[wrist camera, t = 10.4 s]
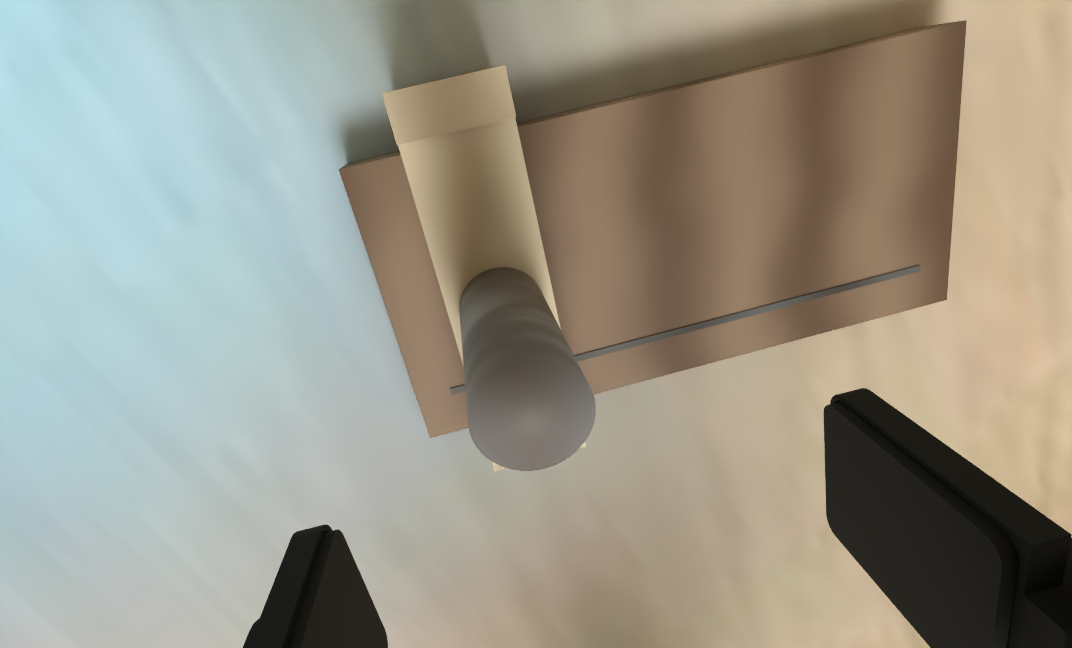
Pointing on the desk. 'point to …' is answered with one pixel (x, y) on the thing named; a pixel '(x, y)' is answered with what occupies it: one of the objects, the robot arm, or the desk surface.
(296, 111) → the desk surface
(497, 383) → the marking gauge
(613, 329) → the walnut board
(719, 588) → the desk surface
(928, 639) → the robot arm
